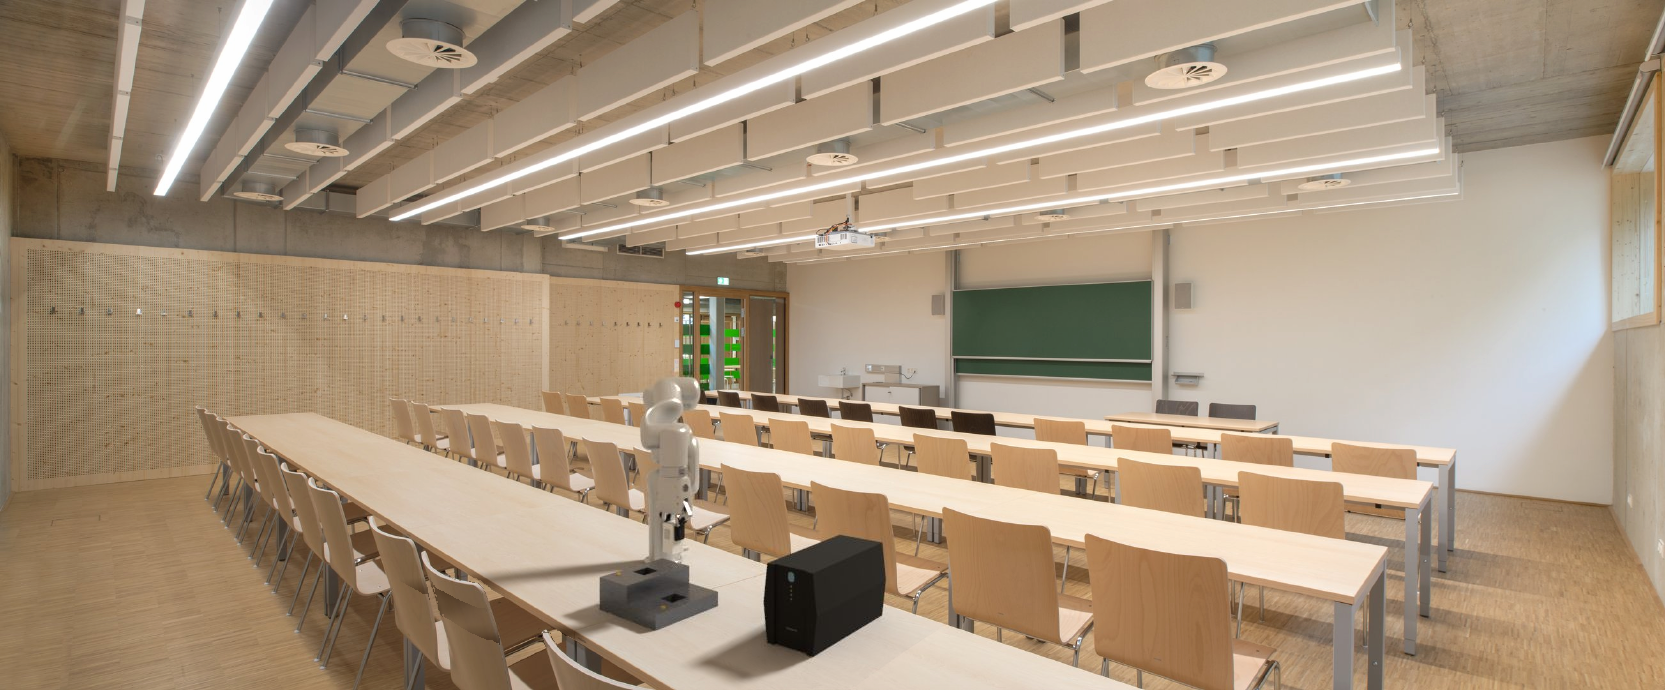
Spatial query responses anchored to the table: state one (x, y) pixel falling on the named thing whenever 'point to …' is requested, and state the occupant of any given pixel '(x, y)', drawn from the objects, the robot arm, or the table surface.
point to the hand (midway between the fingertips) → (673, 537)
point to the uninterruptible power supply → (823, 593)
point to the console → (654, 594)
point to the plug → (671, 539)
